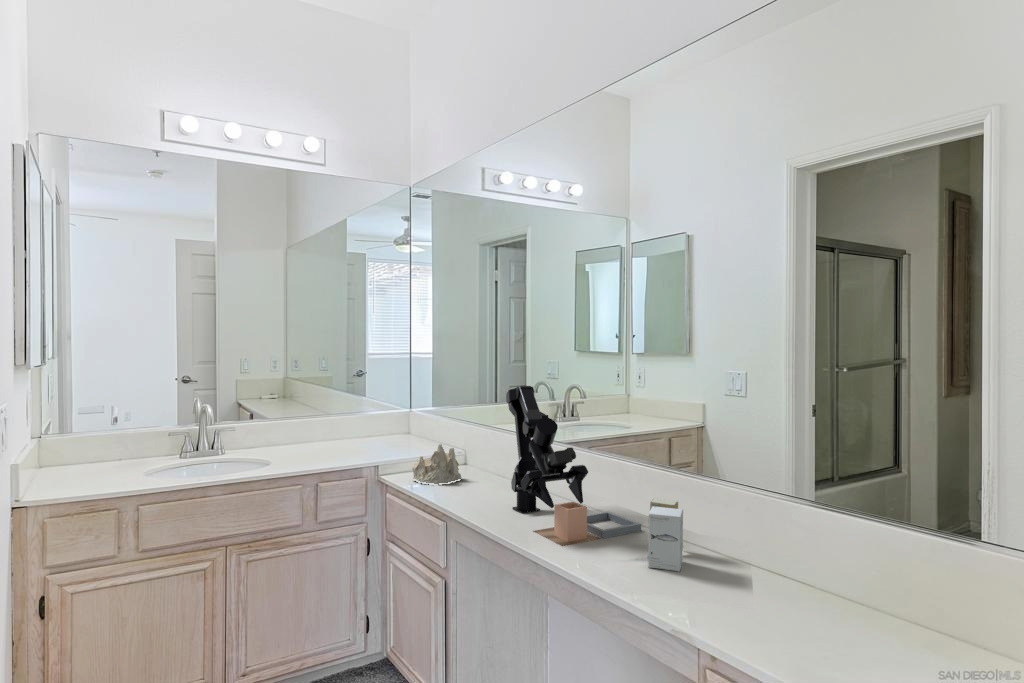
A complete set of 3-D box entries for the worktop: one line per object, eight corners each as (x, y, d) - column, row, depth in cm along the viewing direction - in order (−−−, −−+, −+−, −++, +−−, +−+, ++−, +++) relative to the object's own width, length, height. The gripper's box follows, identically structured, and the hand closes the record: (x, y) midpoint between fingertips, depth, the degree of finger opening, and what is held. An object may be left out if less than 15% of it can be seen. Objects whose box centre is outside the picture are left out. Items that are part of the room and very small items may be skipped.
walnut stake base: (532, 536, 164) (532, 508, 164) (569, 529, 170) (569, 502, 170) (562, 552, 151) (562, 521, 152) (601, 544, 157) (601, 515, 157)
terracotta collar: (551, 533, 161) (551, 503, 161) (570, 530, 164) (570, 500, 164) (567, 541, 155) (567, 510, 155) (586, 538, 158) (587, 506, 158)
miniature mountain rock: (467, 479, 231) (465, 439, 231) (434, 489, 219) (431, 446, 219) (441, 476, 242) (438, 438, 242) (407, 484, 230) (404, 444, 230)
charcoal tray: (570, 529, 170) (570, 517, 170) (608, 522, 176) (608, 511, 176) (602, 544, 158) (602, 531, 158) (641, 536, 164) (641, 523, 164)
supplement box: (647, 568, 141) (647, 513, 141) (651, 557, 148) (651, 505, 148) (680, 572, 138) (680, 516, 138) (683, 561, 145) (683, 508, 145)
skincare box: (648, 550, 153) (648, 501, 153) (653, 545, 157) (653, 497, 157) (674, 554, 150) (674, 504, 150) (678, 549, 154) (678, 500, 154)
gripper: (526, 440, 160) (549, 491, 150) (584, 435, 169) (609, 483, 160) (511, 465, 167) (532, 516, 157) (567, 459, 176) (591, 506, 166)
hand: (567, 504), depth 160 cm, fingers open, 9 cm apart
